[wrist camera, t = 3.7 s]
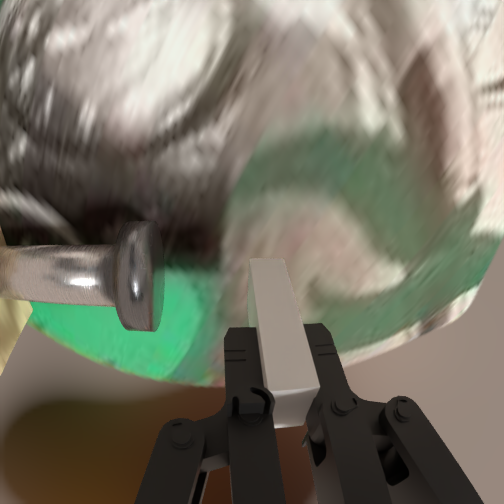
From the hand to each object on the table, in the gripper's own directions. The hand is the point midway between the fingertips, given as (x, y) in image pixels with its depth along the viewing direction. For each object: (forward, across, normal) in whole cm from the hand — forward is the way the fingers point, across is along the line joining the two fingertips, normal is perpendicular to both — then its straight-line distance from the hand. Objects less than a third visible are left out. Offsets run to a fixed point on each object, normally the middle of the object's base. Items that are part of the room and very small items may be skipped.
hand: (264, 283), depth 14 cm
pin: (+4, -12, 0) cm, 13 cm away
